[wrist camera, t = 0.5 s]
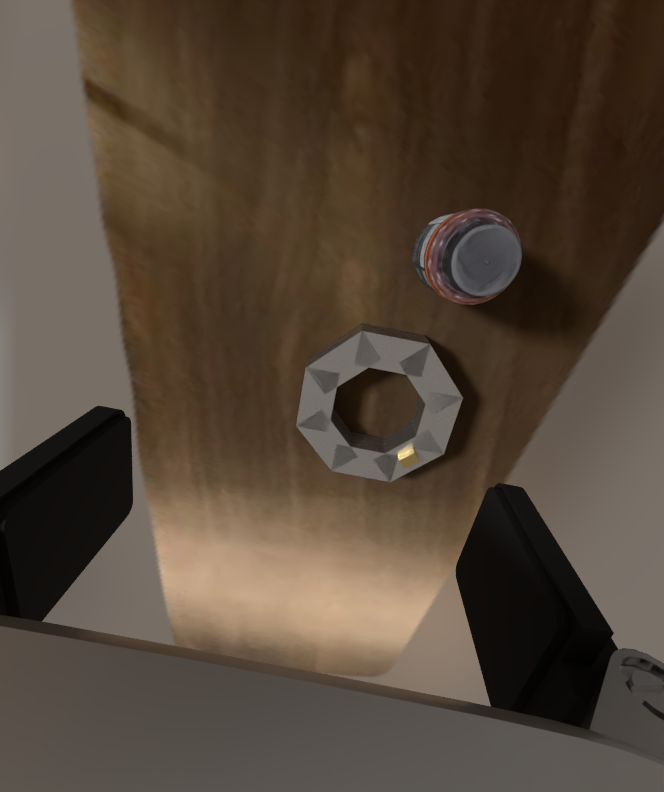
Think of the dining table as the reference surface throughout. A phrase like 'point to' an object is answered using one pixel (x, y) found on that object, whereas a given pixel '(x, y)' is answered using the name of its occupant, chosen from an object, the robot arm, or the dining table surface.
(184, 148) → the dining table surface
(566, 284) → the dining table surface
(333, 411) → the grey octagonal ring
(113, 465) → the robot arm
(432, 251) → the supplement bottle
